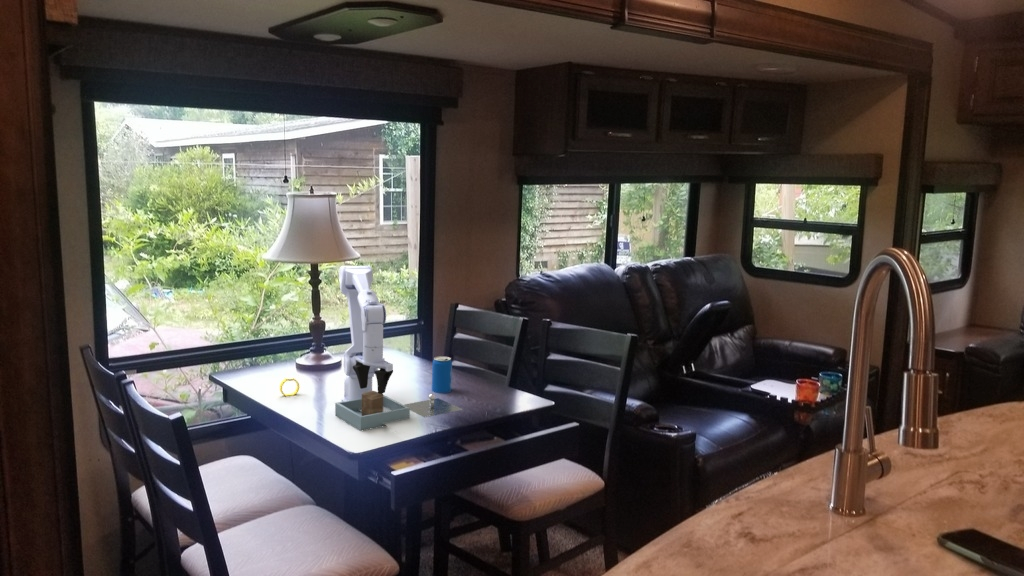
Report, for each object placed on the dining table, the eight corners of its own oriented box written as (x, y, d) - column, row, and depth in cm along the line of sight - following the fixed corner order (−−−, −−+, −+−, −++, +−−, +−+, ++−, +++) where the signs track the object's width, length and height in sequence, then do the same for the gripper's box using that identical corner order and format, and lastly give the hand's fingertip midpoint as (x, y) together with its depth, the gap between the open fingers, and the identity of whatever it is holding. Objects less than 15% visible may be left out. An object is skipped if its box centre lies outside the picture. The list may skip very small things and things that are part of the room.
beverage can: (447, 396, 244) (448, 361, 242) (429, 394, 245) (430, 359, 243) (453, 391, 250) (454, 357, 248) (435, 389, 251) (436, 355, 250)
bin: (335, 415, 220) (335, 402, 220) (382, 407, 230) (382, 394, 230) (360, 430, 208) (360, 417, 207) (409, 421, 218) (409, 408, 217)
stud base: (400, 408, 230) (400, 391, 229) (438, 401, 238) (438, 385, 238) (424, 420, 219) (425, 403, 218) (463, 412, 228) (463, 396, 227)
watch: (296, 393, 242) (298, 376, 241) (299, 396, 239) (300, 378, 239) (278, 394, 238) (279, 376, 238) (280, 397, 236) (282, 379, 235)
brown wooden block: (361, 416, 218) (361, 393, 217) (372, 413, 222) (372, 390, 221) (371, 419, 216) (372, 396, 215) (382, 416, 219) (383, 393, 218)
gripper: (400, 347, 215) (399, 392, 217) (366, 339, 223) (365, 383, 225) (383, 351, 209) (382, 397, 211) (348, 343, 218) (347, 387, 220)
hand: (372, 390), depth 218 cm, fingers open, 7 cm apart
